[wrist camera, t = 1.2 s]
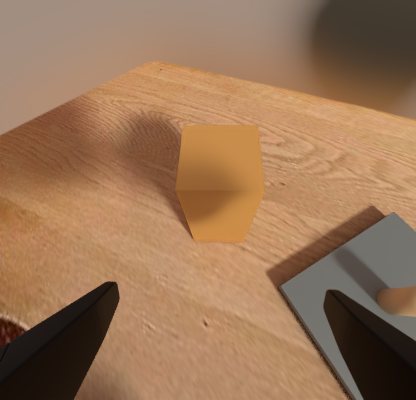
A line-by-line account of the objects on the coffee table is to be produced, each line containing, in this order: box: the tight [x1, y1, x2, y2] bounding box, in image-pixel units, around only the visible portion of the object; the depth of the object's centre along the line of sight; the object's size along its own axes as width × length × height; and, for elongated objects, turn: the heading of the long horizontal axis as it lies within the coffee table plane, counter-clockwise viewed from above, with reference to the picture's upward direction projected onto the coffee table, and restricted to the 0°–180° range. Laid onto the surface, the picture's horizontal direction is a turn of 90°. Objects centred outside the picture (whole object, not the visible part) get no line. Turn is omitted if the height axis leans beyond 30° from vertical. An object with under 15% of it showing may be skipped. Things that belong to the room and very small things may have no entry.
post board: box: [278, 212, 416, 400], centre depth 18 cm, size 16×12×4 cm
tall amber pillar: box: [175, 125, 265, 242], centre depth 19 cm, size 6×6×12 cm
